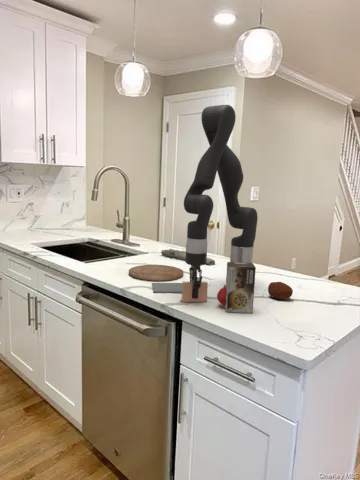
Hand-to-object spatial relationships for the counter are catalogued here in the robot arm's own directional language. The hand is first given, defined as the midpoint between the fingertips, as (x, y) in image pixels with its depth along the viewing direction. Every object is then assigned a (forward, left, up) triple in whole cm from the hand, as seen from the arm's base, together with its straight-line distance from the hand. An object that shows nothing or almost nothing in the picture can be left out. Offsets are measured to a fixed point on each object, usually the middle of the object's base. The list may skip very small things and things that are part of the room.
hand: (194, 297), depth 139 cm
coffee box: (-14, +9, -2) cm, 17 cm away
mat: (+5, -16, -2) cm, 17 cm away
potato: (-34, -3, -2) cm, 34 cm away
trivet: (+11, -38, -2) cm, 40 cm away
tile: (0, 0, -1) cm, 1 cm away
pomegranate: (-10, +6, -2) cm, 12 cm away
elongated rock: (-8, -70, -2) cm, 70 cm away
